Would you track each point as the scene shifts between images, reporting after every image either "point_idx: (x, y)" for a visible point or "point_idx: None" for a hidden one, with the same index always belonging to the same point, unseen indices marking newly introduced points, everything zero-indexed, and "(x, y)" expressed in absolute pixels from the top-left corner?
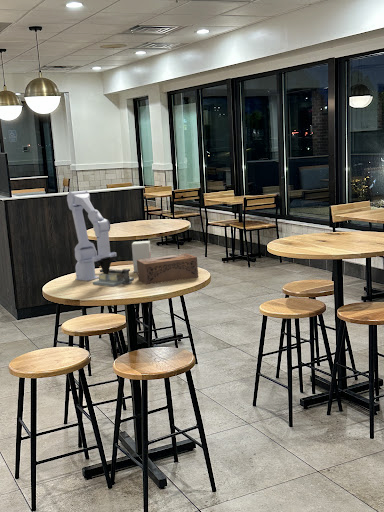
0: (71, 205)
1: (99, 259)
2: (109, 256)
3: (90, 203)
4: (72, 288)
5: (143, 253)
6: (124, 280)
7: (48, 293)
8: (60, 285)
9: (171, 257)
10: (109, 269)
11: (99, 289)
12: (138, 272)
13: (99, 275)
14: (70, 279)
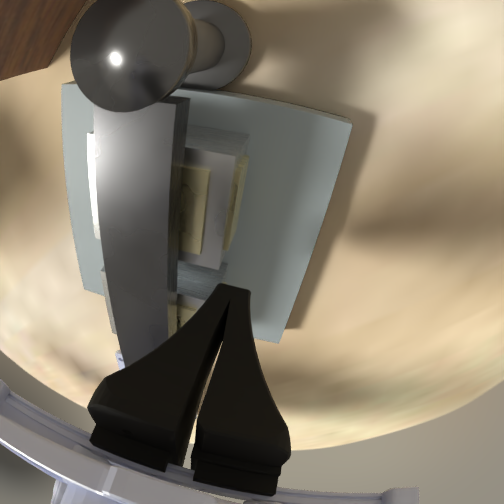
0: None
1: (311, 501)
2: (202, 500)
3: None
4: (390, 377)
5: None
6: (172, 95)
7: (467, 403)
8: (312, 428)
9: None
10: (125, 323)
11: (460, 208)
12: (9, 58)
13: None
14: (195, 425)
